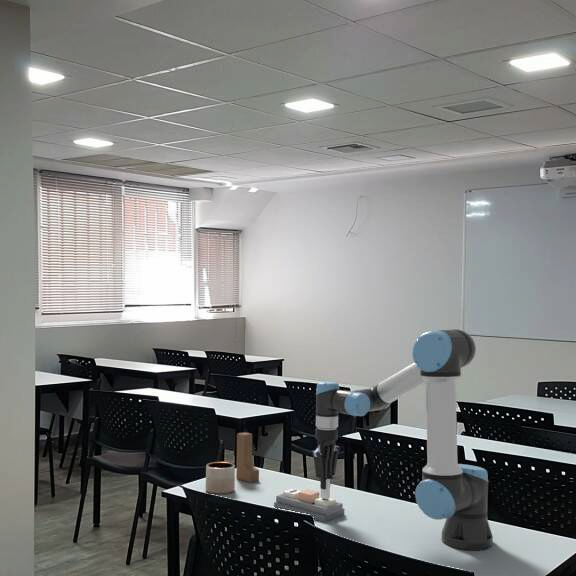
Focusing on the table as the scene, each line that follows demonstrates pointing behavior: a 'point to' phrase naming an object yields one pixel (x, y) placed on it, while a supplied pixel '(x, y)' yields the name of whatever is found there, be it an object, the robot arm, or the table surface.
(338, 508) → the keypad
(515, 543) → the table surface
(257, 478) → the wooden block
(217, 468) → the planter
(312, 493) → the blank key
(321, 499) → the dot key
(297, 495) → the bar key
